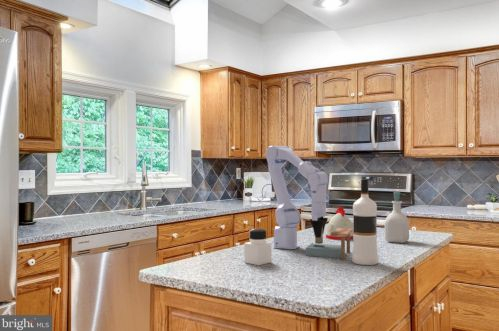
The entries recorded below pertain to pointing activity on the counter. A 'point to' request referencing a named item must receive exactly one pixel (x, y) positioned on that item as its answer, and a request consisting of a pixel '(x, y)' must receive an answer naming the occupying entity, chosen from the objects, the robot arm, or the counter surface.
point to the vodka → (365, 229)
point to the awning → (343, 239)
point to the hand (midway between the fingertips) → (319, 236)
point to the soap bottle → (396, 223)
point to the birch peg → (319, 240)
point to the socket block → (324, 250)
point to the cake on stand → (339, 224)
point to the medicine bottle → (257, 248)
